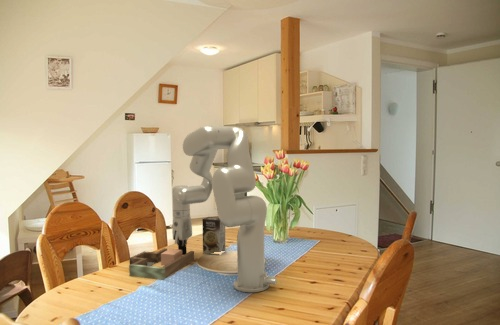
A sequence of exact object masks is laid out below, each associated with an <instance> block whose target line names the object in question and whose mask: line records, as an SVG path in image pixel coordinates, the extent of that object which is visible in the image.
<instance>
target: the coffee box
mask: <svg viewBox="0 0 500 325" xmlns="http://www.w3.org/2000/svg"><path fill="white" fill-rule="evenodd" d="M221 251H226V226H224V225H223V224H222V223H221V221H220V219H219V217H216V216H207V217H203V218H202V254H207V255H210V254H209V253H214V252H221ZM226 252H227V251H226Z"/></svg>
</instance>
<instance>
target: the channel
mask: <svg viewBox="0 0 500 325" xmlns="http://www.w3.org/2000/svg"><path fill="white" fill-rule="evenodd" d="M167 250H168V248H162V249H161V250H159V251H156V252H153V251H146V250H145V251H142V252H139V253H137V254H135V255H133V256H131V257H129V265H128V270H129V272H128V273H129V276H130V277H140V278H145V279H146V278H148V279H155V280H157V279H158V280H165V279H167V278H168V277H170V276H171V275H174V274H175V273H177V272H178V271H179V270H181V269H182V268H184V267H186V266H189V264H190V263H193V262H194V261H195V250H190V251H187V252H186V254H185V255H182V256H181V257H179V258H177V259H176V260H174V261H172V262H170V263H169V264H167V265H162V267H161V266H153V265H152V266H147V262H152V263H155V264H159V262H160V263H161V253H163V252H165V251H167Z"/></svg>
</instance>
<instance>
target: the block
mask: <svg viewBox="0 0 500 325" xmlns="http://www.w3.org/2000/svg"><path fill="white" fill-rule="evenodd" d="M181 256H183V255H182V250H179V249H176V248H169V249H167V251H165V252H163V253H161V261H160V265H161V266H165V265H167V264H169V263H170V262H172V261H174V260H176V259H177V258H179V257H181Z"/></svg>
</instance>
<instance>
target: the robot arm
mask: <svg viewBox="0 0 500 325" xmlns="http://www.w3.org/2000/svg"><path fill="white" fill-rule="evenodd" d="M218 150H227V152H226V157H225V158H226V162H227V166H224V167H220V168H219V167H218V168H217V169H216V170H215V171H214V173H213V175H212V174H211V168H212V166H213V163H214V161H215V158H216V155H217V152H218ZM182 152H183V154H185V155H186V156H189V157H192V158H191V160H190V163H189V169H190V171H191V172H192V173H193V174H195V175H197V176H198V177H201V178H202V181H201V184H200V185H191V186H188V185H175V186H173V188H172V189H171V190H172V191H171V194H172V198H171V199H172V239H173V240H174V244H177V246H178V247H177V248H178V249H179V250H182V256H183V255H185V254H186V253H187V244H188V240H189V239H190V238H191V237H192V236H193V226H192V224H193V223H192V216H191V205H193V204H200V203H205V202H206V201H208V200H209V198H210V197H211V193H213V196H214V202H215V205H216V206H215V207H216V211H217V215H218V218H219V219H220V221H221V223H222V224H223V225H224V226H225V228H235V227H238V230H237V235H236V245H237V246H236V252H237V255H236V256H237V262H236V263H237V279H236V280H234V281H233V288H234V289H235V290H237V291H239V292H242V293H258V292H263V291H265V290H267V289H268V288H269V287H270V285H272V286H273V285H274V286H275V285H277V282H278V281H277V278H276V277H275V276H269V275H268V271H266V269H265V266H266V265H265V264H266V263H265V261H266V260H265V257H266V256H265V253H266V252H265V228H266V220H267V213H268V207H267V203H266V201H265V200H264V199H263V198H262V197H260V196H258V195H246V196H238V197H236V196H235V195H237V194H246V193H249V192H252V191H253V190H255V188H256V185H257V181H256V174H255V171H254V166H253V162H252V158H251V154H250V147H249V136H248V134H247V132H246V131H245V130H244V128H242V127H238V126H227V125H226V126H225V125H223V126H221V125H219V126H217V125H215V126H214V125H204V126H202V127H201V126H200V127H198V128H197V129H196V130H194V131H192V132H190V133H188V134H187V135H186V136H185V137H184V140H183V143H182Z"/></svg>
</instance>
